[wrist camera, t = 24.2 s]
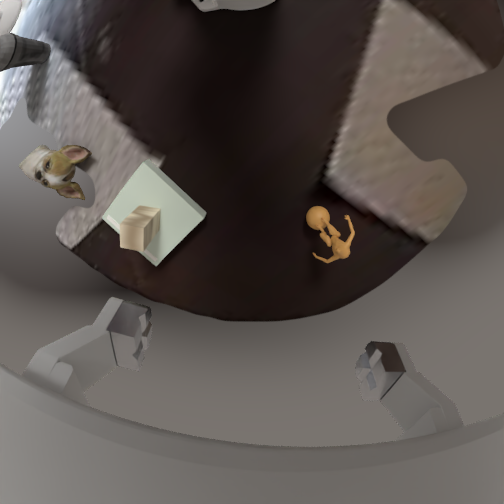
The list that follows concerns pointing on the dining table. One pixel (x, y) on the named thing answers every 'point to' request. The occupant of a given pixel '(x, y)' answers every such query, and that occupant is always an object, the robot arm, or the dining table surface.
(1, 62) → the beverage cup
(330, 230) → the figurine
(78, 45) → the dining table surface
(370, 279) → the dining table surface
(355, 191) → the dining table surface
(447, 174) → the dining table surface
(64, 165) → the ceramic sculpture
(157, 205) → the sage board
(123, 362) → the robot arm
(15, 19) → the candlestick
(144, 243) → the tan block
